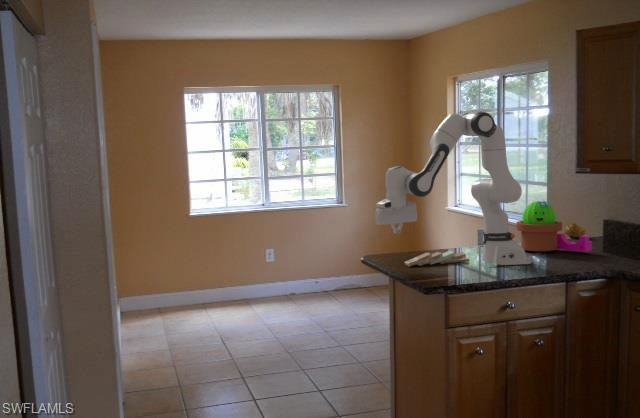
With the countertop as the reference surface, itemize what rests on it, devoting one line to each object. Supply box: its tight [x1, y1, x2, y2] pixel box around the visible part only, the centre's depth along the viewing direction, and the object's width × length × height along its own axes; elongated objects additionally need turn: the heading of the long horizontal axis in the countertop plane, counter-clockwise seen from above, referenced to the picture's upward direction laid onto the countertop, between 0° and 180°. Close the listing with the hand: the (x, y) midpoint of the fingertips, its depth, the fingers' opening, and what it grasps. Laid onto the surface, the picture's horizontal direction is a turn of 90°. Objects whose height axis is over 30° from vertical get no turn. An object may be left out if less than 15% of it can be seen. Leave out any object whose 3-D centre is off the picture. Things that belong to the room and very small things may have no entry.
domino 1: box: [415, 251, 443, 267], centre depth 306 cm, size 2×5×12 cm
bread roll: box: [564, 223, 586, 238], centre depth 376 cm, size 13×10×8 cm
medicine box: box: [477, 228, 484, 246], centre depth 355 cm, size 8×4×9 cm, turn 71°
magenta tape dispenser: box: [556, 233, 593, 253], centre depth 332 cm, size 15×6×8 cm, turn 39°
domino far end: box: [403, 252, 433, 268], centre depth 304 cm, size 2×5×12 cm
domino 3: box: [446, 257, 470, 264], centre depth 312 cm, size 2×5×12 cm
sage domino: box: [428, 250, 456, 266], centre depth 307 cm, size 2×5×12 cm
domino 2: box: [438, 251, 467, 265], centre depth 308 cm, size 2×5×12 cm
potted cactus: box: [516, 200, 563, 252], centre depth 336 cm, size 22×22×25 cm
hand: (397, 233), depth 299 cm, fingers closed
